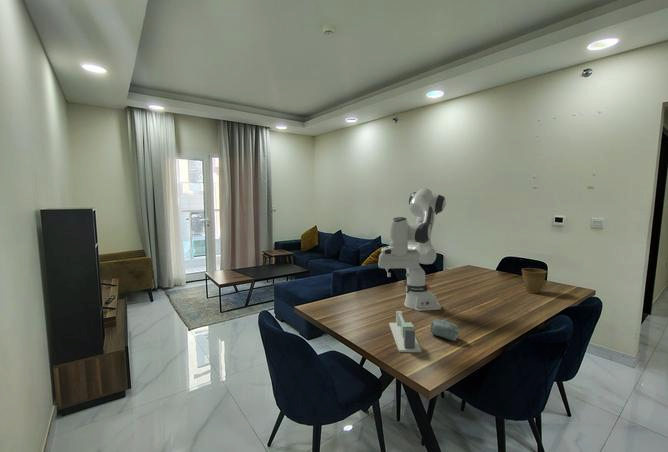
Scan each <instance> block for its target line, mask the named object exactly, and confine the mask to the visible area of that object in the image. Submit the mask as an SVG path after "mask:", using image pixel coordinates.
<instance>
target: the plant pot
mask: <svg viewBox="0 0 668 452" xmlns="http://www.w3.org/2000/svg"><path fill="white" fill-rule="evenodd" d="M521 275H522V279H523V284H524V287H525V289H526V292H527V293H529V294H534V293H538V294H540V292H541V290H542V288H543V287H544V283H545V279H546V276H547V270H545V269H541V268H534V267H533V268H532V267H526V268H525V267H524V268H521Z"/></svg>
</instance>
